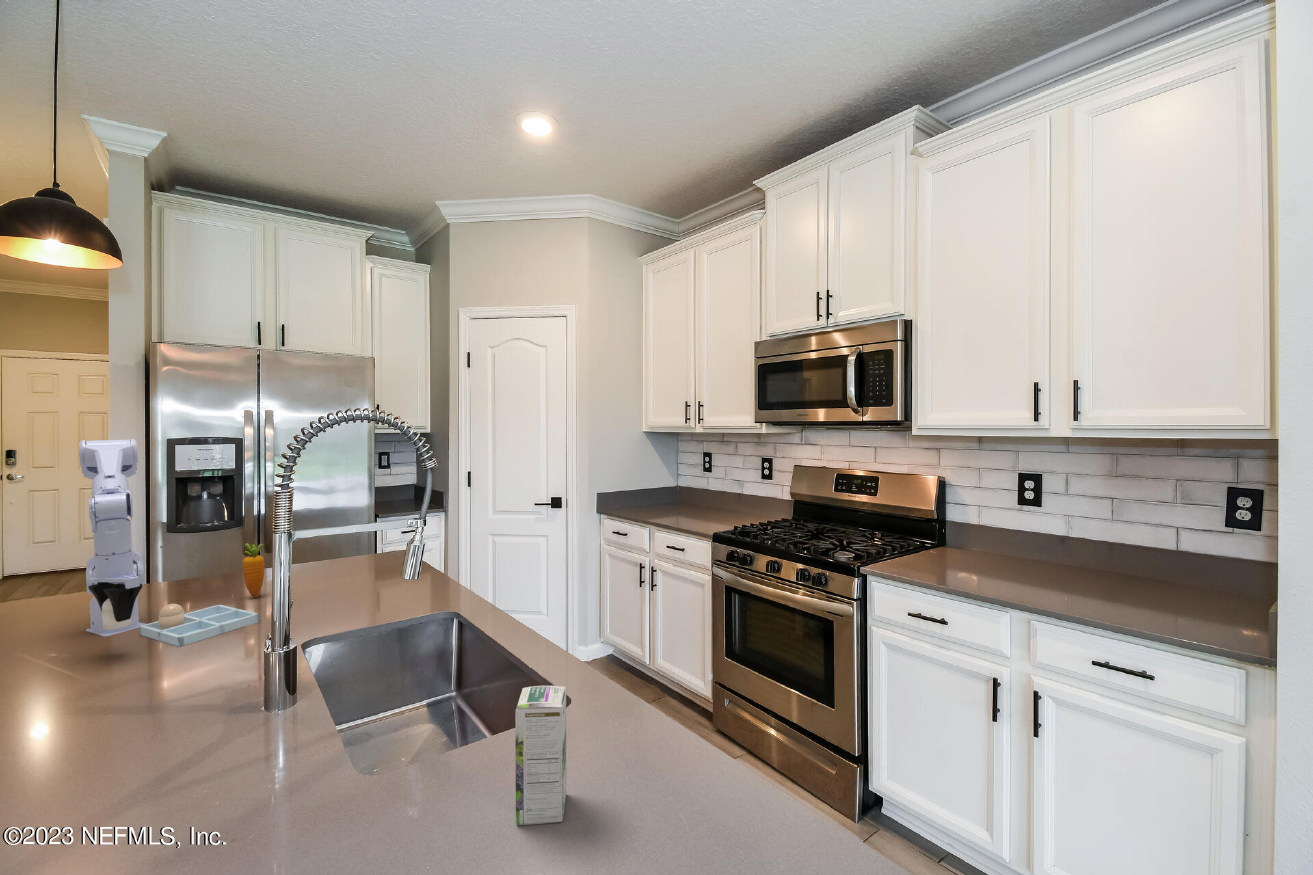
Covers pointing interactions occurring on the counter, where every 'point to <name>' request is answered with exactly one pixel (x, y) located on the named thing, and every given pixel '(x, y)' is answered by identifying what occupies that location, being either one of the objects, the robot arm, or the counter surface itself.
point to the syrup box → (540, 755)
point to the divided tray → (201, 625)
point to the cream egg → (112, 617)
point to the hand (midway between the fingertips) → (117, 618)
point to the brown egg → (171, 616)
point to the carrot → (253, 570)
